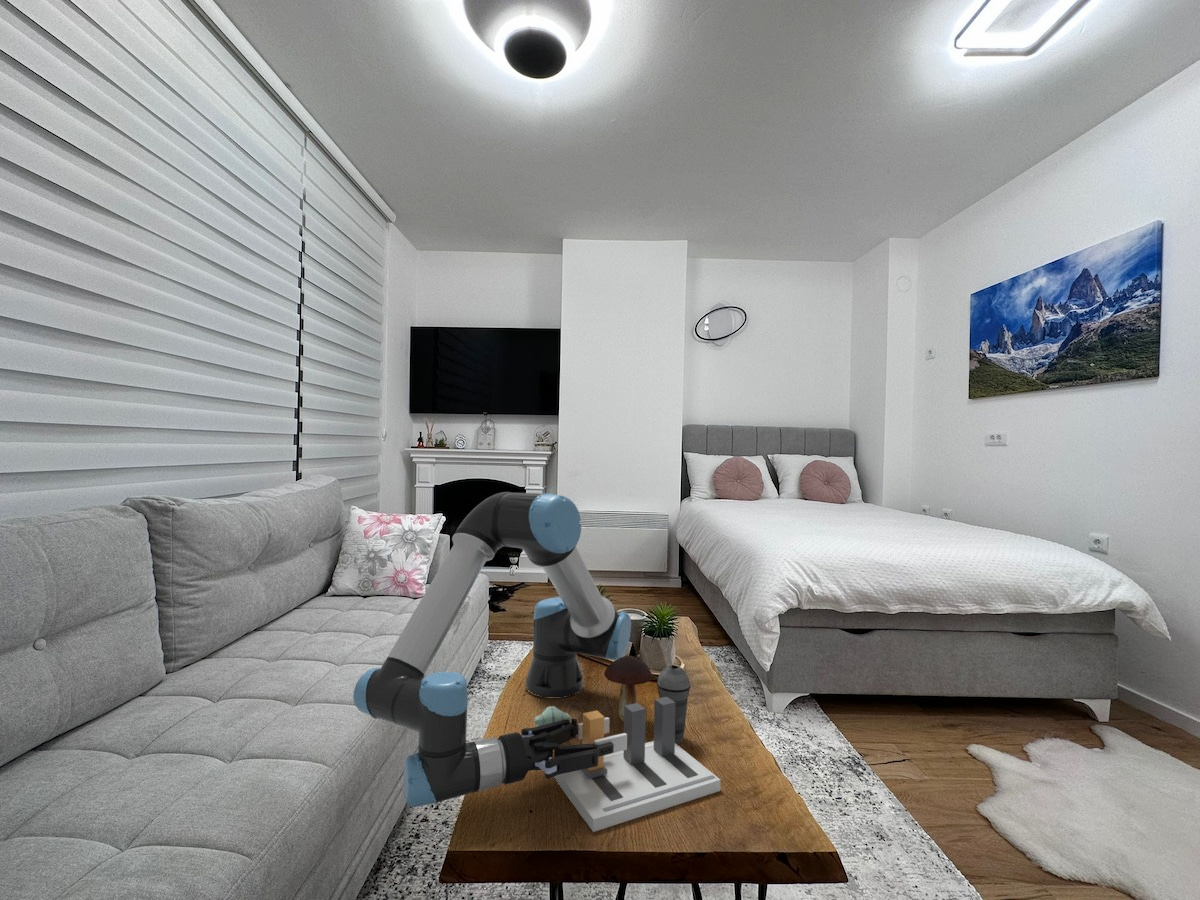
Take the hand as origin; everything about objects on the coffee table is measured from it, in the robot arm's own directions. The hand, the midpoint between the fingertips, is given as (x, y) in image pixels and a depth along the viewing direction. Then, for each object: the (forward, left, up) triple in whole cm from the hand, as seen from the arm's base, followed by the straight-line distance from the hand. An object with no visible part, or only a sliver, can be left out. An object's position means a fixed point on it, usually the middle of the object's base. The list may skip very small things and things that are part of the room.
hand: (616, 732), depth 104 cm
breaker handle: (0, -5, -6) cm, 8 cm away
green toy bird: (-18, -6, -8) cm, 21 cm away
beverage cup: (-7, +18, -8) cm, 21 cm away
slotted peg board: (+4, +2, -8) cm, 9 cm away
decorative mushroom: (-18, +13, -8) cm, 24 cm away
